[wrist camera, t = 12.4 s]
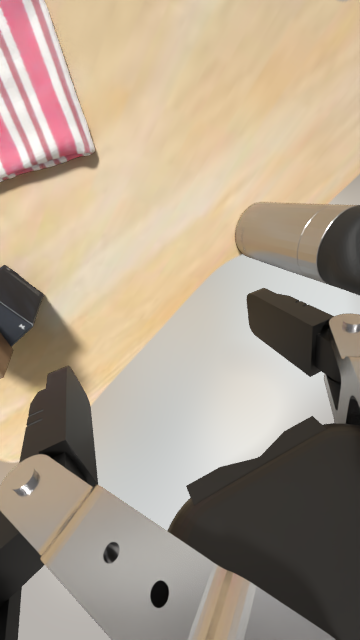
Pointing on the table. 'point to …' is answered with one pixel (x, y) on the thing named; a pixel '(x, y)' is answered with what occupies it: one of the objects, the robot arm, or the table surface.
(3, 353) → the walnut block
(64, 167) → the table surface
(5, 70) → the dish towel
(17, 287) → the small box
